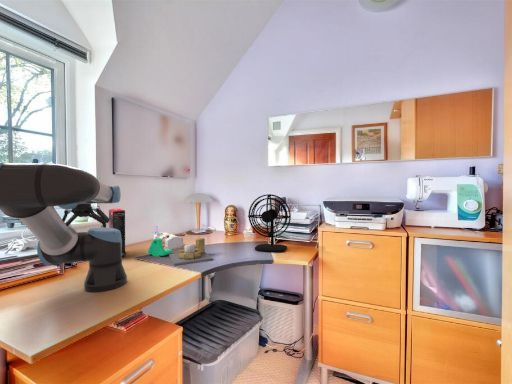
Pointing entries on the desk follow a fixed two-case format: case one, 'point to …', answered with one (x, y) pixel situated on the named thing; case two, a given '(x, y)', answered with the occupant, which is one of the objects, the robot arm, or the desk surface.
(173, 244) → the diorama
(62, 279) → the desk surface
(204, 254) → the cap base
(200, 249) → the olive castle ruin model
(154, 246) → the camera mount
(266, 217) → the desk fan
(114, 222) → the graphics card box
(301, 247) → the desk surface
